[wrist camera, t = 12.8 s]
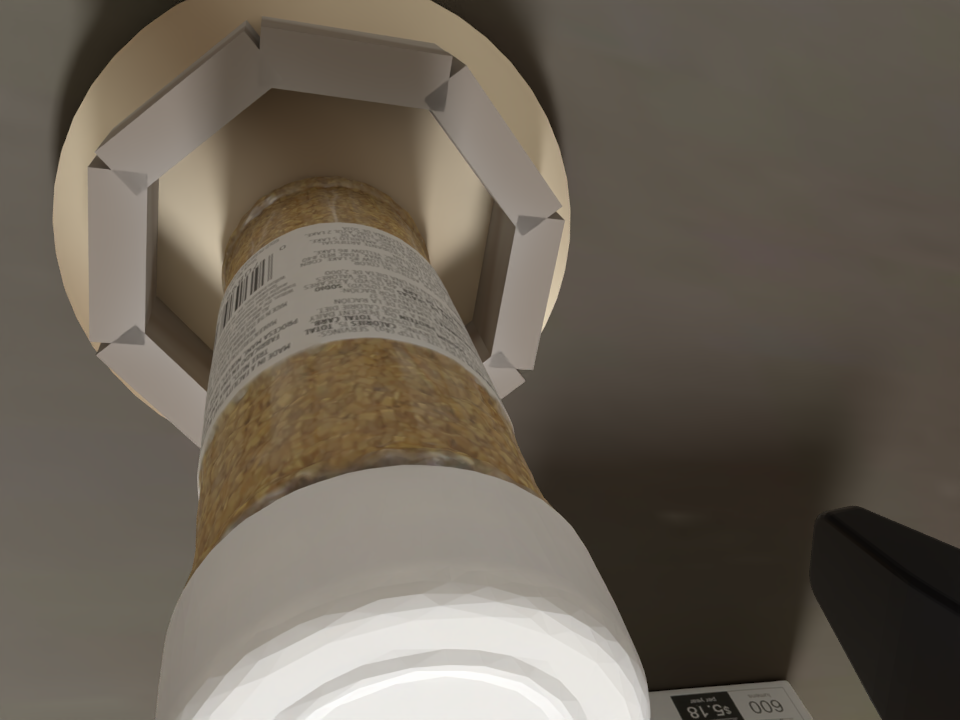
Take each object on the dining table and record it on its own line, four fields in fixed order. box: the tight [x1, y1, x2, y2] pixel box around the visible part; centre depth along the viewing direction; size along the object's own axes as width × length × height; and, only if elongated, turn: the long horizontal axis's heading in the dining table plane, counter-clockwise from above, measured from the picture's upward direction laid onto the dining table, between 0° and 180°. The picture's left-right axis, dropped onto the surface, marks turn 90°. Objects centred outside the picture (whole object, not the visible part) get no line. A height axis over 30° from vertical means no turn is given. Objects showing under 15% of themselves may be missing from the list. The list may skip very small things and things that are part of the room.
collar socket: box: [53, 0, 570, 448], centre depth 19 cm, size 11×11×3 cm
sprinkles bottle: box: [155, 176, 650, 720], centre depth 14 cm, size 5×5×13 cm
